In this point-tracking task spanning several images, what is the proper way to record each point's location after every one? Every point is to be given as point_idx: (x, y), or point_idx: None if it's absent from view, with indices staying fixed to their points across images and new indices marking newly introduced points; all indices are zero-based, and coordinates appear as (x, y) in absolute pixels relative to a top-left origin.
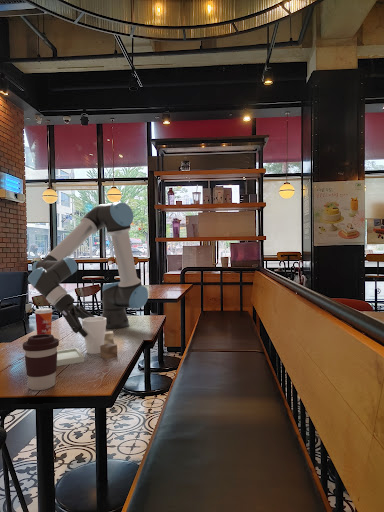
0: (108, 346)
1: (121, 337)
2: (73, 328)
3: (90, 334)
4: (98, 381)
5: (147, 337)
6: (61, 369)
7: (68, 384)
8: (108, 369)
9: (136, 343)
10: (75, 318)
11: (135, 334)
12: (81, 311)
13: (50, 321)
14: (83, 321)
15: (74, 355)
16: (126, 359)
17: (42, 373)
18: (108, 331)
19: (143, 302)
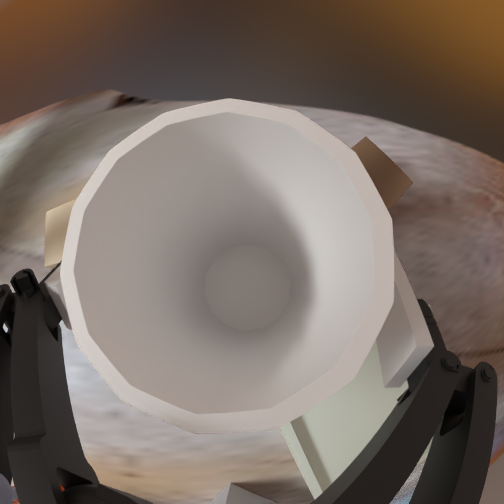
0: (394, 176)
1: (45, 199)
2: (458, 418)
3: (405, 275)
4: None
5: (86, 106)
6: (473, 363)
7: None
8: (476, 194)
9: (150, 118)
10: (389, 495)
11: (35, 158)
12: (49, 473)
13: (14, 501)
14: (324, 396)
15: (371, 369)
16: (384, 134)
17: None
18: (46, 231)
19: None
